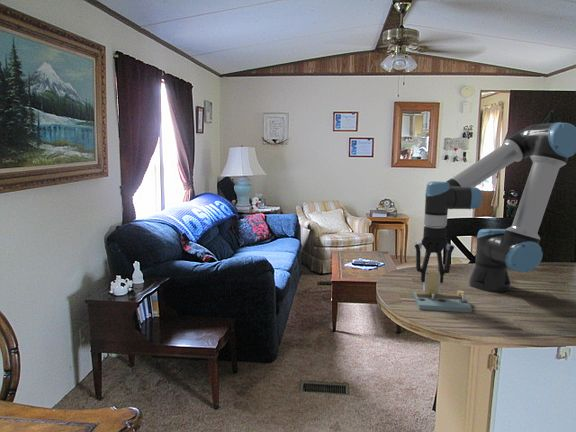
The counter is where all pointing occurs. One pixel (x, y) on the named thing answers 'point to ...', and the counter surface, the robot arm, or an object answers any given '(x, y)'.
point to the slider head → (432, 282)
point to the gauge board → (442, 302)
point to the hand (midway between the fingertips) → (431, 291)
